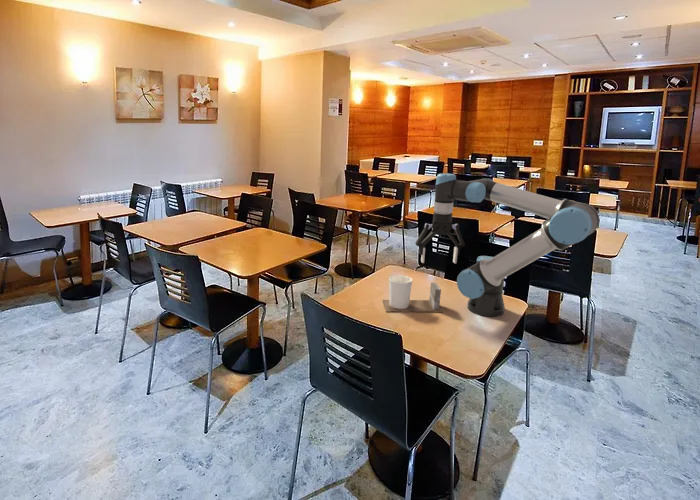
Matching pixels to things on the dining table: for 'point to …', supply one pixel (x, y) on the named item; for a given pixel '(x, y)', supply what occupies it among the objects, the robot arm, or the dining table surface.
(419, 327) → the dining table surface
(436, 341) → the dining table surface
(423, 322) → the dining table surface
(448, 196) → the robot arm
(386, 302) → the board
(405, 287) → the candle holder
